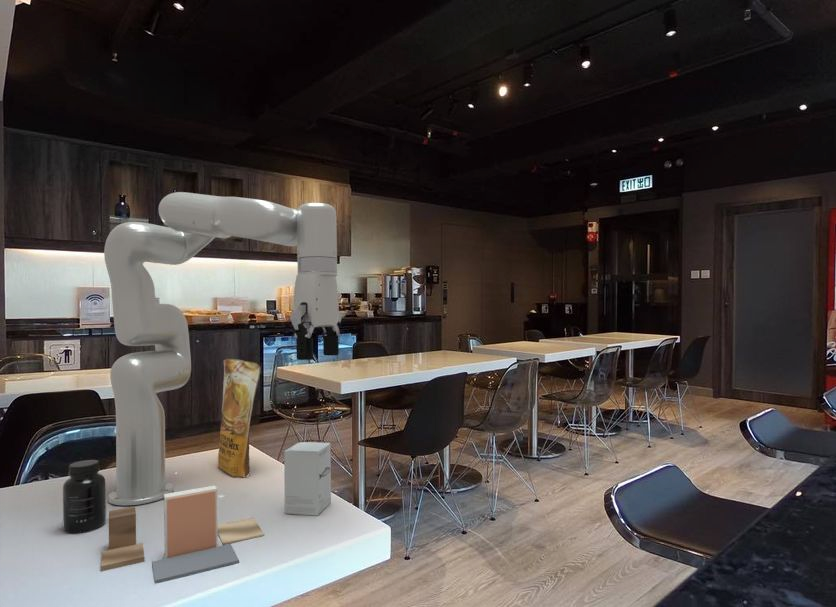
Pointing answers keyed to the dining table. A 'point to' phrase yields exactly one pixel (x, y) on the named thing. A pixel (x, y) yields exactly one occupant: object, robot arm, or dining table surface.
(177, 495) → the tile
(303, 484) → the supplement box
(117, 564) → the wooden block stack
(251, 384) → the pancake mix bag
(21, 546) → the dining table surface
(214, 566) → the mat
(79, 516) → the supplement bottle
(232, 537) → the pad
